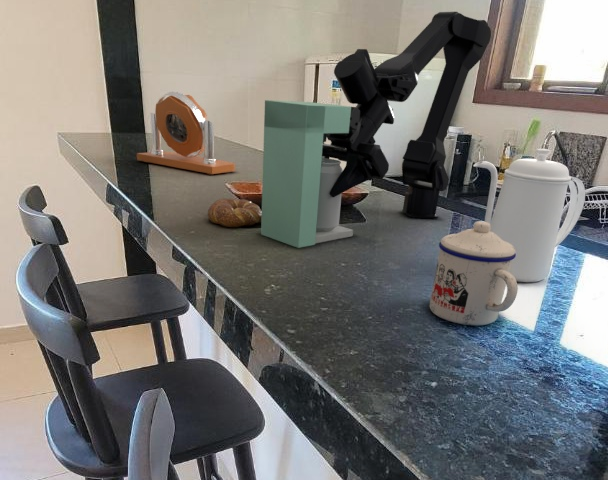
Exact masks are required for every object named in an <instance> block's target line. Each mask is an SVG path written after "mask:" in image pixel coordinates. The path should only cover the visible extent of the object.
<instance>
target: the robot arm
mask: <svg viewBox="0 0 608 480" xmlns="http://www.w3.org/2000/svg"><path fill="white" fill-rule="evenodd" d="M491 37H492V29H491V27H490V26H489V23H488V22H487V21H486V20H485V19H476V18H472V17H468V16H466V15H464V14H462V13H461V12H458V11H439V12H437V13H435V14H434V15H433V17H432V19H431V21H430V22H429V23H428V24H427V25H426V26H425V27H424V29H422V30H421V32H420V33H418V35H416V37H415V38H414V39H413V40H412V41H411V42H410V44H408V46H406V47H405V48H404V50H403V51H402V52H400V53H399V54H397V55H395V56H393V57H391V58H388V59H386V60H384V61H383V62H382V63H380V64H379V65H377V66H376V67H375V68H374V65H373V63H372V61H371V56H370V54H369V53H370V52H369V51H368V49H367V48H358V49H356V50H355V52H353V53H351V54H349V55H347V56H345V57H344V58H343V59H341V60H339V61H337V63H336V64H335V67H334V69H333V74H334V76H335V78H336V80H337V82H338V84H339V86H340V89H341V91H342V93H343V94H344V96H345V98H346V100H347V102H348V103H349V104H352V105H355V106H350V105H349V107H351V114H350V124H349V133H327V138H326V140H328V141H330V144H327V143H326V142H323V147H322V158H326V159H335V160H338V161H340V162H341V161H342V162H346V163H345V166H344V168H343V171H342V173H341V174H340V176H339V178H338V179H337V181H336V182H335V184H334V185H333V187H332V189H331V191H330V195H331V197H335V196H337V195H339V194H341V193H342V194H343V193H344V192H347V191H348V190H350V189H352V188H354V187H356V186H359V185H361V184H363V183H366V182H368V181H370V182H371V181H372V180H373V179H377V180H378V179H379V180H383V179H384V178H385V176H386V175H387V173H388V172H389V169H390V168H389V167H390V165H389V161H388V159H387V157H386V155H385V153H384V151H383V149H382V146H381V145H380V144H377V143H376V139H375V136H376V134H377V132H378V131H379V130H380V128H381V127H382V126H383V124H385V125H393V124H394V123H395V116H394V109H393V108H392V107H391V106H390V103H389V102H395V103H404V102H406V101H407V100H408V99H409V98H410V97H411V95H412V93H413V92H414V91H415V88H416V87H418V82H419V75H420V73H421V72H422V71H423V70H424V69H425V68H426V67H427V66H428V64H430V63H431V61H432V60H434V58H435V57H436V56H437V55H438V53H439V52H441V51H442V49H443V51H442V52H443V56H444V61H445V63H444V64H445V65H444V68H443V70H442V74H441V76H440V79H439V81H438V86H437V88H436V91H435V94H434V97H433V100H432V103H431V106H430V109H429V111H428V114H427V117H426V120H425V123H424V125H423V129H422V132H421V134H420V135H419V136H418V137H417V138H416V139H410V140H409V141H408V143H407V145H406V150H405V152H404V154H403V156H402V162H401V174H402V176H401V177H402V185H404V186H408V188H407V191H406V192H405V193H404V200H403V206H402V209H401V212H402V213H404V214H405V215H406V216H408V217H409V218H411V219H412V218H413V219H414V218H415V219H416V218H417V219H439V215H437V208H438V202H439V198H440V192H444V191H445V190H447V188H448V186H449V182H450V179H449V176H448V173H447V171H446V168H445V164H446V163H445V162H446V159H447V154H446V149H445V144H444V143H445V139H446V136H447V134H448V131H449V127H450V125H451V123H452V119H453V117H454V114H455V110H456V108H457V105H458V102H459V100H460V97H461V94H462V92H463V88H464V85H465V82H466V80H467V77H468V74H469V72H470V71H471V70H472V69H473V68H474V67H475V66H476V65H477V64H478V63H480V61H481V60H482V58H483V56H484V54H485V52H486V49H487V47H488V45H489V43H490V41H491ZM342 194H341V195H342Z"/></svg>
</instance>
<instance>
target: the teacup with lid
mask: <svg viewBox="0 0 608 480" xmlns="http://www.w3.org/2000/svg"><path fill="white" fill-rule="evenodd" d="M490 228H491V225H490V224H489V223H487V222H484V221H482V220H481V221H479V220H478V221H475V222H474V223H473V224H472V228H468V229H464V230H462V231H459V232H458V233H451V234H447V235H445V236H443V237H442V238H441V240H440V241H439V242H438V248H439V253H438V259H437V264H436V269H435V274H434V275H435V276H434V279H433V284H432V290H431V295H430V300H429V309H430V311H431V312H432V313H433V314H434V315H435V316H437V317H438V318H440V319H442V320H444V321H447V322H451V323H454V324H458V325H465V326H486V325H489V324H492V323H494V322H495V321H497V319H498V318H499V314H500V313H501V312H505V311H506V310H508V309H509V308H510V307H511V306H512V305H513V304H514V302H515V301H516V298H517V295H518V291H519V287H518V282H517V281H516V279H515V278H514V276H513V275H512V274H511V273H509V271H510V267H511V264H512V260H513V259H514V258H515V256H516V253H515V252H516V251H515V248H514V247H513V246H512V245H511V244H510V243H508V242H506V241H503V240H502V239H501V238H500V237H499V236H498V235H496V234H495V233H493V232H491V231H490ZM506 288H507V289H506ZM505 290H506V294H505ZM504 294H505V297H504ZM503 298H504V299H503Z"/></svg>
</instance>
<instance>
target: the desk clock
mask: <svg viewBox="0 0 608 480" xmlns="http://www.w3.org/2000/svg"><path fill="white" fill-rule="evenodd" d="M149 115H150V116H149V117H150V130H151V131H150V133H151V148H152V149H150V151H149V152H137V153H136V160H137V161H140V162H143V163H146V164H149V163H151V164H157V165H161V166H166V167H171V168H177V169H183V170H188V171H193V172H197V173H198V172H200V173H204V174H206V175H211V176H213V175H214V174H215V175H216V174H222V173H223V174H224V173H230V172H235V171H236V163H234V162H231V161H226V160H219V159H215V137H214V136H215V132H214V130H215V128H214V127H215V125H214V123H213V122H211V121H210V120H208V117H207V116H208V115H207V113H206V111H205V110H204V108H202V107H201V106H200V104H199V103H198V102H197V101H196V100H195V98H194V97H193V96H192V95H190V94H183V93H181V92H178V91H169V92H167V93H165V94H163V95H161V97H160V98H158V100H157V101H156V104H155V106H154V113H153V112H150V114H149ZM162 139H163V140H164V142H165V143H166V146H167V147H169V148H170V149H171V150H173V151H164V150H163V149H162ZM202 153H203V156H199V155H201V154H202Z"/></svg>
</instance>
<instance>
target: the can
mask: <svg viewBox="0 0 608 480" xmlns="http://www.w3.org/2000/svg"><path fill="white" fill-rule="evenodd" d="M341 164H342V163H341V161H340V160H338V159H335V158H329V159H326V158H322V160H321V172H320V185H319V198H318V211H317V224H316V231H319V232H325V231H332V230H334V228H335V227H337V226H340V215H341V204H342V194H343V193H341V194H339V195H337V196H335V197H331V195H330V191H331V189H332V187H333V185H334V184H335V182H336V181H337V179H338V178H339V176H340V174H341V173H342V171H343V170H344V168H342V166H341Z"/></svg>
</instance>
